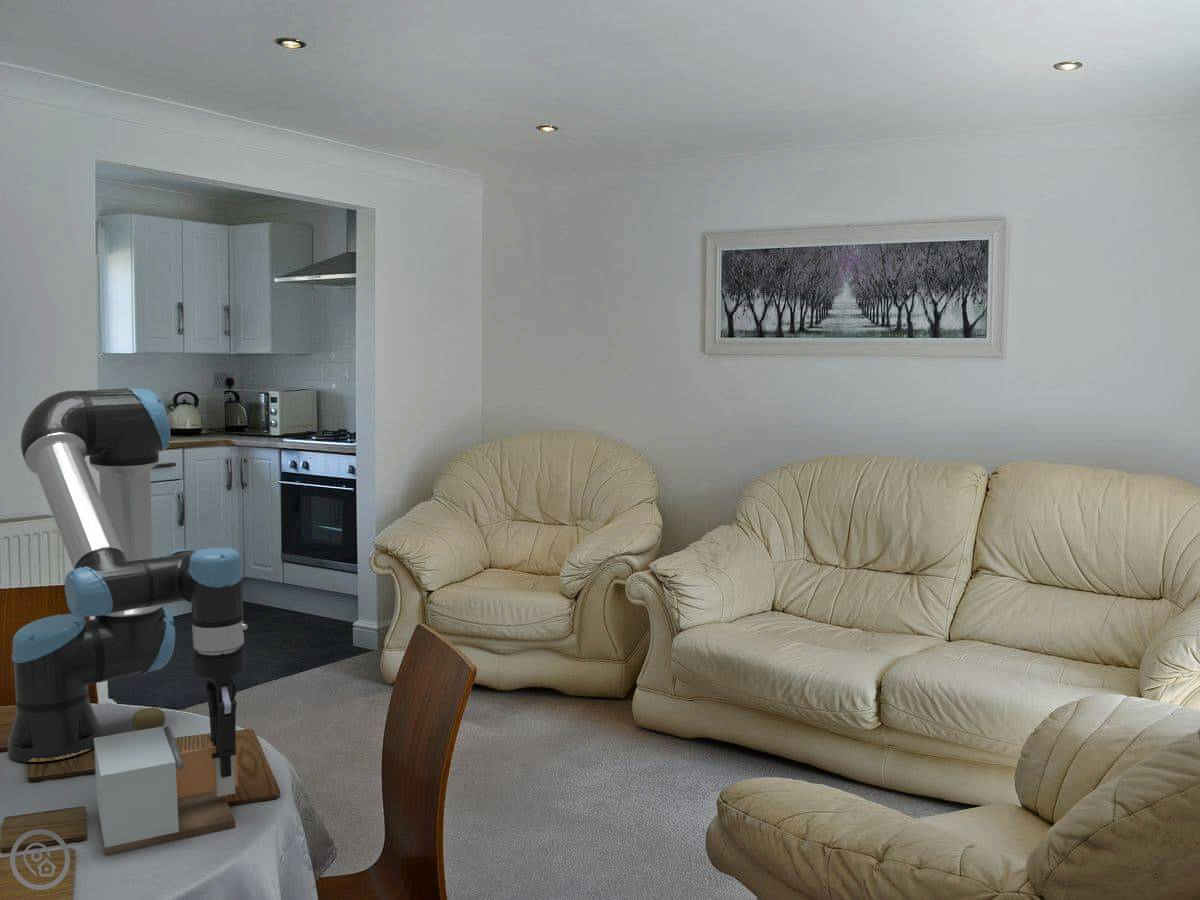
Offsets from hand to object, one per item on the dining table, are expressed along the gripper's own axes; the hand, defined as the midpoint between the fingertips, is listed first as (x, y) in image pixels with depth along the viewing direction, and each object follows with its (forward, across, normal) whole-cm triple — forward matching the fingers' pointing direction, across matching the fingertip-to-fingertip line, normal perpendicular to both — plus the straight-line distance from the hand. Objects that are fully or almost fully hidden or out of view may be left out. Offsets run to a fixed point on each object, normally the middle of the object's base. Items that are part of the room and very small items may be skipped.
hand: (225, 792), depth 167 cm
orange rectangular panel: (-1, 0, +6) cm, 6 cm away
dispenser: (+1, 0, +12) cm, 12 cm away
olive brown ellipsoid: (+3, +20, +9) cm, 22 cm away
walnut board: (+2, 0, +9) cm, 9 cm away
